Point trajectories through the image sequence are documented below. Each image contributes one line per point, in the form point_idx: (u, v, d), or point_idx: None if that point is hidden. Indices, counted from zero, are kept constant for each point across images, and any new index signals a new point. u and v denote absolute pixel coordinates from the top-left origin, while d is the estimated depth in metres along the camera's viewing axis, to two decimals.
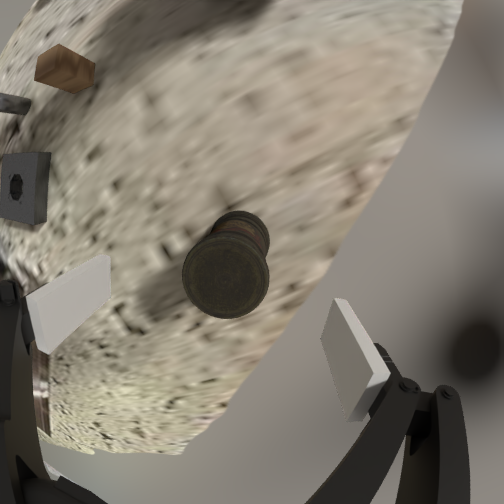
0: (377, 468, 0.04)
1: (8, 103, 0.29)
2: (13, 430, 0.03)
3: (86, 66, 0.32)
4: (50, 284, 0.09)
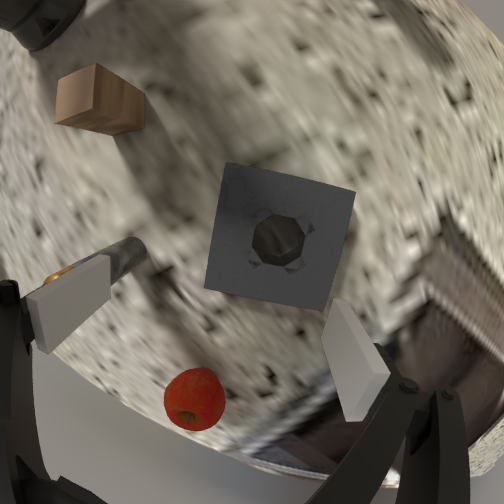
0: (377, 468, 0.04)
1: (107, 251, 0.26)
2: (13, 430, 0.03)
3: None
4: (50, 284, 0.09)
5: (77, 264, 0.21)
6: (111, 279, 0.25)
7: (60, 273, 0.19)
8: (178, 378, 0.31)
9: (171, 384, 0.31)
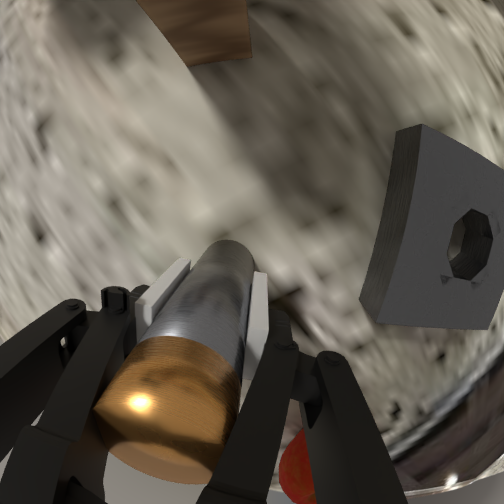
0: (271, 428, 0.06)
1: (220, 275, 0.13)
2: (78, 451, 0.04)
3: None
4: (153, 289, 0.12)
5: (183, 329, 0.08)
6: None
7: (155, 387, 0.05)
8: None
9: (297, 460, 0.18)
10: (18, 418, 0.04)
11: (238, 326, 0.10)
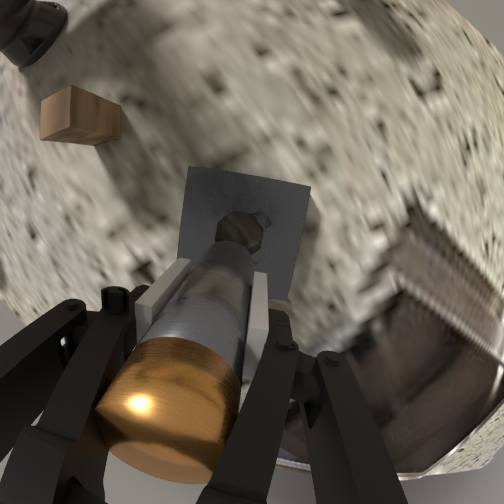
0: (271, 428, 0.06)
1: (220, 276, 0.13)
2: (78, 451, 0.04)
3: None
4: (153, 289, 0.12)
5: (184, 330, 0.08)
6: None
7: (155, 388, 0.05)
8: None
9: None
10: (18, 418, 0.04)
11: (238, 327, 0.10)
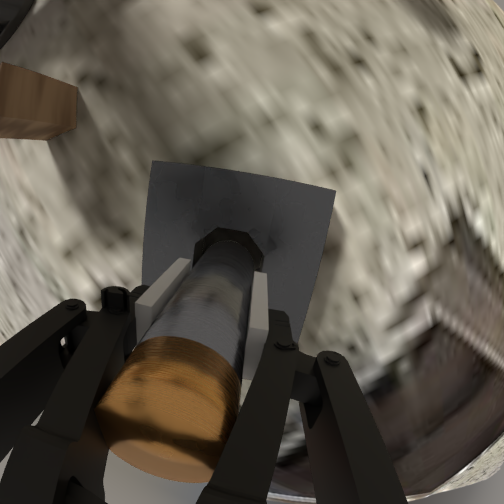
0: (271, 428, 0.06)
1: (220, 276, 0.13)
2: (78, 451, 0.04)
3: None
4: (153, 289, 0.12)
5: (184, 329, 0.08)
6: None
7: (156, 386, 0.05)
8: None
9: None
10: (18, 418, 0.04)
11: (238, 326, 0.10)
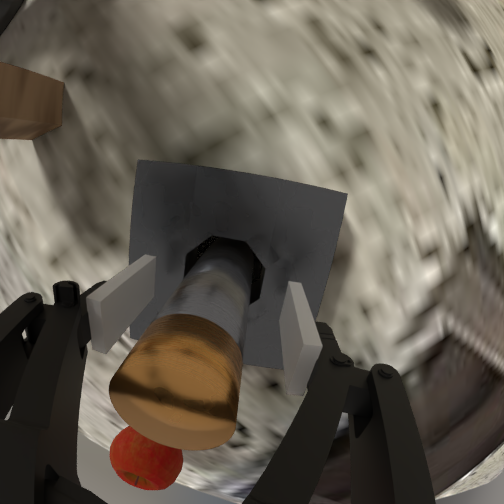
0: (319, 443, 0.05)
1: (223, 266, 0.14)
2: (48, 439, 0.03)
3: None
4: (107, 284, 0.11)
5: (193, 308, 0.09)
6: None
7: (170, 352, 0.07)
8: (122, 434, 0.21)
9: (115, 439, 0.21)
10: None
11: (240, 309, 0.12)
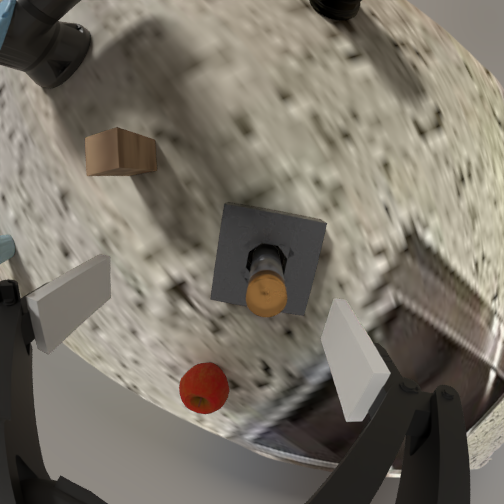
0: (377, 469, 0.04)
1: (271, 256, 0.34)
2: (13, 430, 0.03)
3: None
4: (50, 284, 0.09)
5: (268, 268, 0.29)
6: None
7: (269, 277, 0.26)
8: (191, 370, 0.40)
9: (185, 375, 0.40)
10: None
11: (281, 271, 0.31)
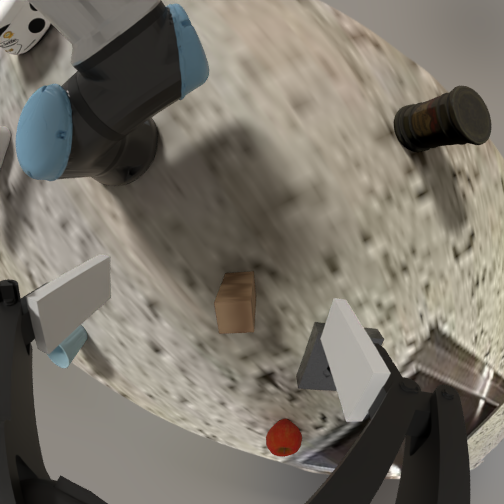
0: (377, 469, 0.04)
1: None
2: (13, 430, 0.03)
3: (233, 278, 0.45)
4: (50, 284, 0.09)
5: None
6: None
7: None
8: (277, 430, 0.51)
9: (272, 434, 0.51)
10: None
11: None
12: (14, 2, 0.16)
